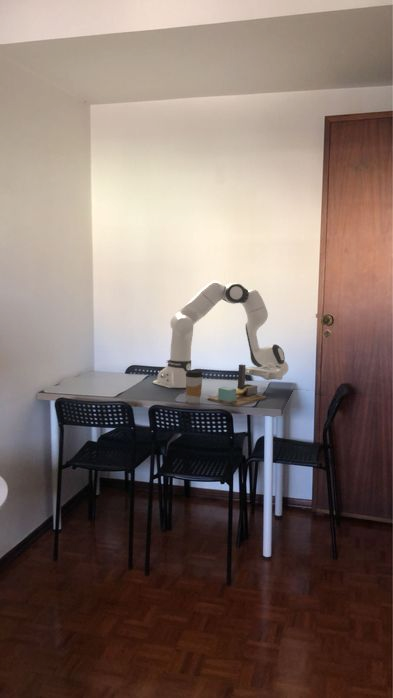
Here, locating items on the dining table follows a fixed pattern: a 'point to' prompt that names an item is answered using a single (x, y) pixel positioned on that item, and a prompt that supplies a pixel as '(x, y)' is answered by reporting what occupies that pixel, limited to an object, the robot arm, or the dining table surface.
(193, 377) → the coffee cup
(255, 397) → the board
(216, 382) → the dining table surface
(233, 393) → the mint green block
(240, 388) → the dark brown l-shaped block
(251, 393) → the sleeve
